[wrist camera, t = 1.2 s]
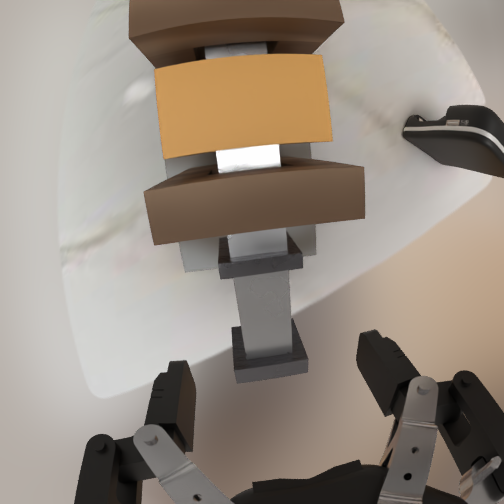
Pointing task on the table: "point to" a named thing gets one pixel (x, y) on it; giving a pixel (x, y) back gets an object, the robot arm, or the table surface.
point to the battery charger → (462, 138)
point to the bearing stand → (205, 165)
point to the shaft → (259, 269)
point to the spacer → (242, 103)
